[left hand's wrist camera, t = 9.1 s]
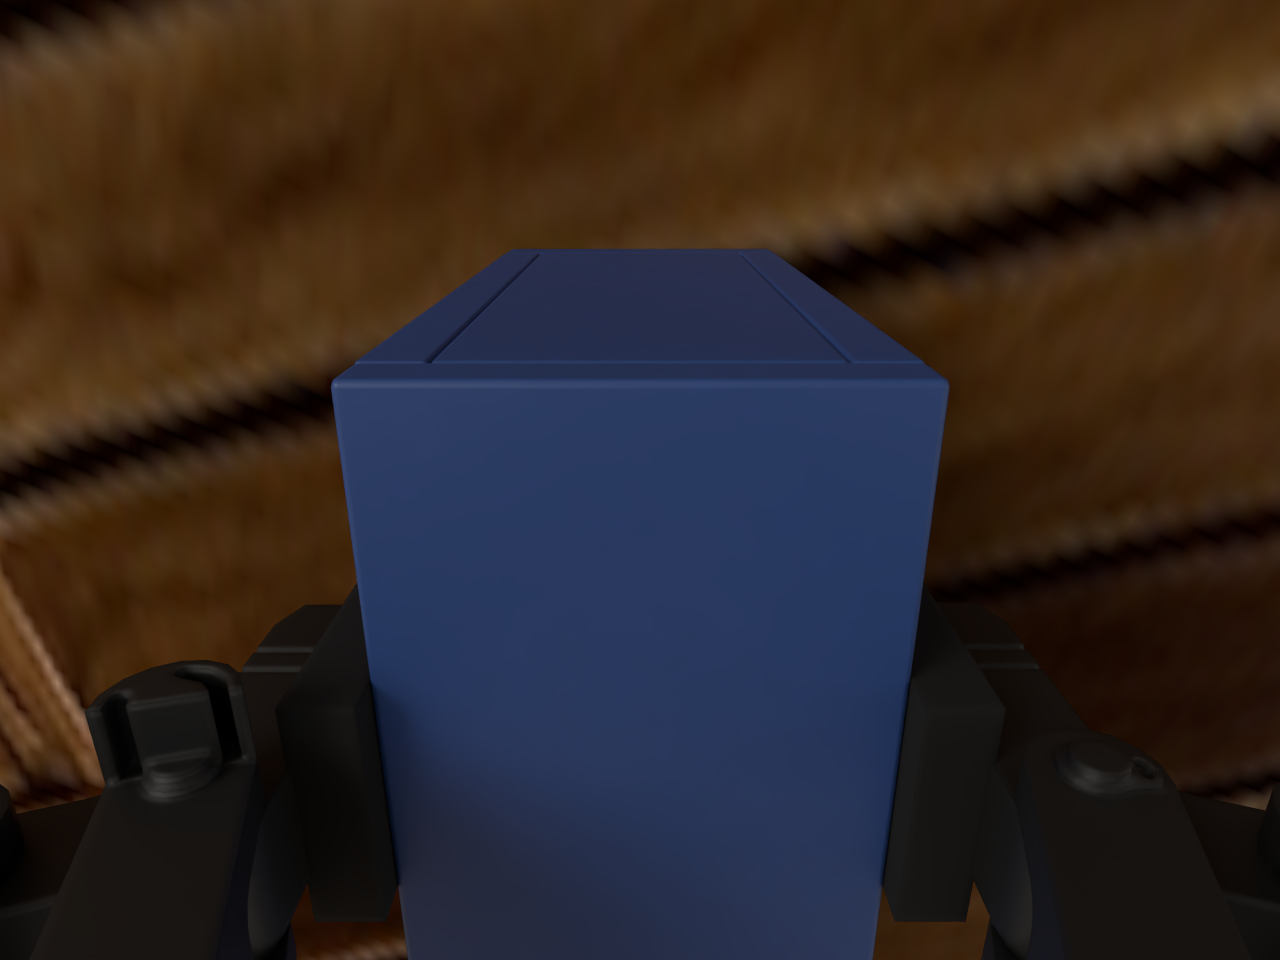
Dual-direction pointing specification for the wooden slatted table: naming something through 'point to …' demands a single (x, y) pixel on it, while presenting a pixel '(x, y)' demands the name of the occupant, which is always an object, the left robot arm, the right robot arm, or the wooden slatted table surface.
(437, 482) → the cabinet
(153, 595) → the wooden slatted table surface
